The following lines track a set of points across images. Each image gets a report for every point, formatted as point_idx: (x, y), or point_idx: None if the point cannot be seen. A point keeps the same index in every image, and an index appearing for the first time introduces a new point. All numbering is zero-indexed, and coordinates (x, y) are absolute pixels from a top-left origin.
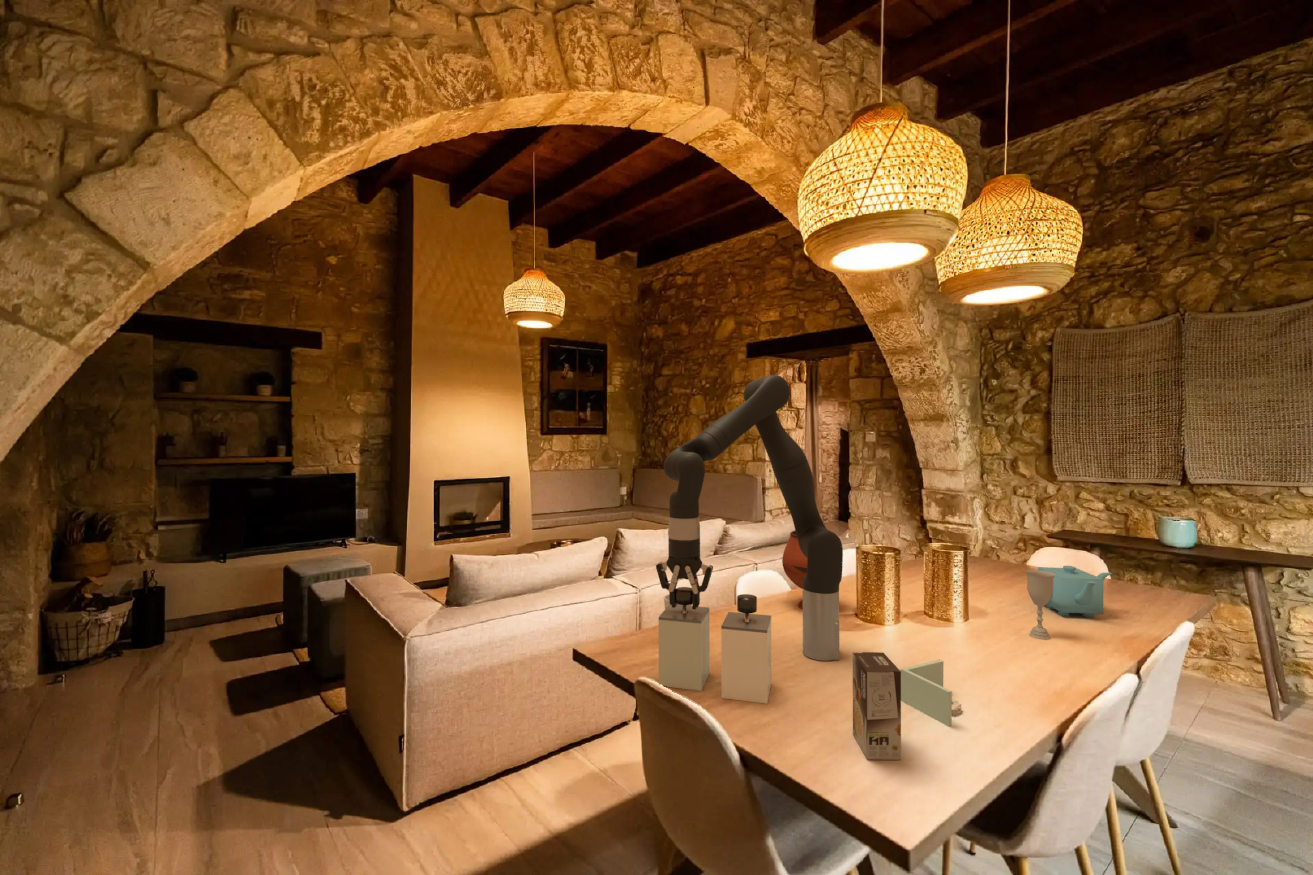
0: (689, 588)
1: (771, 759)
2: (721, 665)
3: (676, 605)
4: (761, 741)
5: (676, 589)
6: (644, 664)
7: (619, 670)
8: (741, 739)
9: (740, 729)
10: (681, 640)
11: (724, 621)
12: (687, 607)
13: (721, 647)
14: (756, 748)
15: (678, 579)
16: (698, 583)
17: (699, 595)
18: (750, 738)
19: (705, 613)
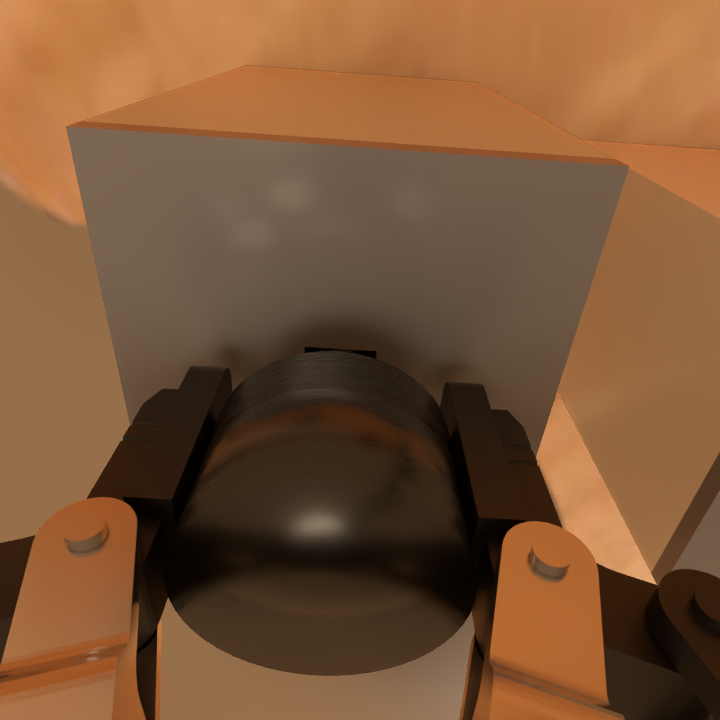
0: (394, 539)
1: (627, 574)
2: (568, 411)
3: (230, 379)
4: (620, 525)
5: (192, 604)
6: (84, 42)
7: (3, 159)
8: (566, 525)
9: (571, 489)
10: None
11: (708, 519)
12: (339, 221)
13: (602, 477)
14: (600, 549)
15: (124, 683)
16: (599, 664)
17: (549, 518)
18: (592, 519)
19: (559, 376)
